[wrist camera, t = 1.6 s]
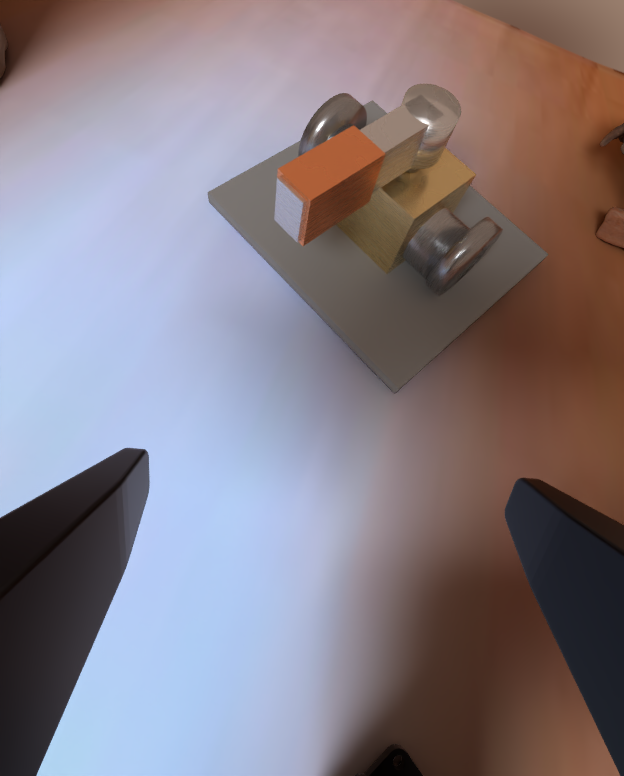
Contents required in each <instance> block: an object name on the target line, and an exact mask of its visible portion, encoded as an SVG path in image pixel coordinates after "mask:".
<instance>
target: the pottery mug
mask: <svg viewBox="0 0 624 776" xmlns="http://www.w3.org/2000/svg"><path fill="white" fill-rule="evenodd" d="M616 138H619V140H620V142H623V144H622V146H621V151H622V153H623V154H624V123H623V124H622V125H620V126H618V127H616V128H615V129H614V130H613V131H611V132H610V133H609V134H607V135H606V136H605V138H604V139H603V140H602V141H601V143H600V146H602V147H603V146H605V145H607V144H608V143H609V142H610V141H612V140H613V139H616ZM596 237H597V238H600V239H602V240H603V241H605V242H608V243H610V244H612V245H615V246H619V247H621V248H624V209H620V208H618V207H613V208H611V209H610V210H609V211H608V213H607V214H606V216H605V219H604V221H603V223H602V224H601V226H600V227H599V229H598V231H597V233H596Z"/></svg>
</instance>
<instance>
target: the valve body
mask: <svg viewBox="0 0 624 776" xmlns="http://www.w3.org/2000/svg"><path fill="white" fill-rule="evenodd" d="M366 122H367V112H366V109H365V108H364V106H362V105H361V104H360V103H359V102H358V101H357V100H356V99H355V98H353V97H352V96H351V95H350V94H347V93H341V94H338V95H336V96H334V97H332V98H330V99H329V100H328V101H326V102H325V103H324V104H323V105H322V106H321V107H320V108H319V109H318V110H317V112H316V113H315V114H314V116H313V117H312V118H311V120H310V122H309V123H308V125H307V127H306V129H305V131H304V133H303V135H302V138H301V141H300V145H299V152H298V156H301V155H303V154H304V153H306V152H308V151H310V150H311V149H313V148H315V147H317V146H318V145H320V144H322V143H324V142H325V141H327V140H329V139H331V138H332V137H334V136H336V135H338V134H339V133H341V132H343V131H344V130H346V129H348V128H350V127H351V126H353V125H354V126H355V127H356V128H358V129H359V130H360V129H362V128H364V127H366ZM475 176H476V174H475V173H474V172H473V171H471V170H470V169H469V168H468V167H467V166H466V165H464V164H463V163H462V162H461V161H460V160H459V159H457V158H456V157H455V156H454V155H453V154H452V153H451V152H449V151H448V150H447V149H446V148H445V149H444V151H443V153H442V155H441V157H440V159H439V161H438V162H437V163H436V164H435V165H434V166H432V167H430V168H426V169H415V168H410V169H409V170H407V171H405V172H404V173H402V174H401V175H399V176H398V177H396V178H395V179H393V180H392V181H390V182H389V183H387V184H386V185H384V186H383V187H381V188H380V189H378V190H377V191H375V192H374V193H372V196H371V199H370V202H369V203H367V204H366V205H364V206H363V207H361V208H360V209H358V210H357V211H355V212H354V213H352V214H351V215H349V216H348V217H346V218H345V219H343V220H342V221H340V222H339V223H337V224H336V225H337V226H338V227H339V228H340V229H341V230H342V231H343V232H344V233H345V234H346V235H347V236H348V237H349V238H350V239H351V240H352V241H353V242H354V243H355V244H356V245H357V246H358V247H359V248H360V249H361V250H362V251H363V252H364V253H365V254H367V255H368V256H369V257H370V258H371V259H372V260H373V261H374V262H375V263H376V264H377V265H378V266H379V267H380V268H381V269H382V270H383V271H384V272H385V273H386V274H388V273H389V272H391V271H392V270H393V269H395V268H396V267H397V266H399V265H400V264H401V263H403V262H404V261H405V260H406V261H407V262H408V263H410V264H411V265H412V266H413V267H414V268H415V269H416V270H417V271H418V272H419V273H420V274H421V275H422V276H423V277H424V278H425V279H426V282H425V284H426V285H427V286H428V287H429V288H430V289H431V290H432V291H433V292H434V293H435V294H436V295H438V296H440V295H442V294H443V293H445V292H446V291H448V290H449V289H450V288H451V287H452V286H454V285H455V284H456V283H457V282H458V281H459V280H460V279H461V278H462V277H464V276H465V275H466V274H467V273H468V272H469V271H470V270H471V269H472V268H473V267H474V266H475V265H476V264H477V262H478V261H479V260H480V259H481V258H482V257H483V256H484V255H485V254H486V253H487V251H488V250H489V249H490V248H491V247H492V246H493V244H494V243H495V242H496V241H497V239H498V238H499V236H500V235H501V233H502V231H503V229H502V228H501V227H500V226H499V225H497V224H496V223H495V222H494V221H493V220H492V219H491V218H489V217H485V218H483V219H482V220H480V221H479V222H478V223H476V224H475V225H474V226H473V227H471V228H469V227H468V226H466V225H465V224H464V223H463V222H462V221H461V220H460V219H459V218H458V217H456V216H455V215H454V214H453V212H454V210H455V209H456V207H457V205H458V204H459V202H460V200H461V199H462V197H463V195H464V194H465V192H466V190H467V189H468V187H469V186H470V184H471V182H472V181H473V179H474V177H475Z"/></svg>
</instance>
